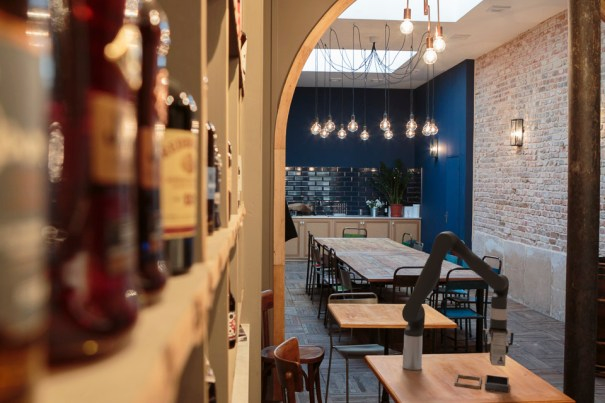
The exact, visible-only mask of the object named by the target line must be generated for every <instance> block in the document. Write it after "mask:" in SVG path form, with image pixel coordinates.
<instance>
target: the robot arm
mask: <svg viewBox="0 0 605 403" xmlns="http://www.w3.org/2000/svg"><path fill="white" fill-rule="evenodd" d="M449 251H451V252H452V253H454V254H456V255H457V256H458V257H460V259H461V260H462V261H463V262H464V263H465V265H466V266H467V267H468V268H469V269H470V270H471V271H473V272H474V273H475V274H476V275H477V276H479V277H480V278H481V279H482V280H483V282H485V283H486V284H487V285H488V286H489V287H490V288H491V289H493V293H492V296H491V299H490V314H489V328H483V329H482V341H483V343H486V351H488V353H490V342H491V337H490V336H489V338H488V339H487V334H488V333H489V335H490V334H491V329H496V330H505V331H506V336H507V335H508V336H509V338H510V339H509V342H508V340H507V338H506V355H507V354H508V353H509V348H510V346H513V345H514V333H515V332H514V331H508V329H507V328H508V294H509V288H510V287H509V286H510V282H509V278H508V277H507V275H505V274H501V273H500V274H498V273H497V272H495V271H494V270H493V268H492V266H491V265H490V264H489V263H487V262H486V261H484V259H482V258H481V257H479V256H478V255H477V254H476V253H475V252H473V251H472V250H471V249H470V248H469V247H468V246H467V245H466V244H465V243H463V241H462V240H461V239H460V238H459V237H458V236H457V235H456V234H455V233H454V232H452V231H447V230H446V231H442V232H440V233H438V234H437V235H436V236H435V238H434V241H433V244H432V247H431V250H430V253H429V255H428V257H427V259H426V262H425V263H424V264H423V268H422V269H421V271H420V274H419V276H418V278H417V280H416V283H415V285H414V288H413V290H412V292H411V295H410V296H409V298H408V300H407V301H406V303H405V304H404V305H403V309H402V311H401V316H402V319H403V320H404V322H406V323H407V325H406V327H405V328H404V331H403V332H404V334H403V349H402V369H405V370H408V371H420V370H422V368H423V367H422V366H423V363H422V362H423V333H424V330H425V322H426V320H425V318H426V312H425V308H424V306H423V303H424V301H425V300H426V299H427V298H428V297H429V295H431V293H432V292H433V290H434V289H435V287H436V286H437V284H438V281H439V279H440V277H441V273H442V266H443V262H444V259H445V258H446V256H447V255H448V253H449Z"/></svg>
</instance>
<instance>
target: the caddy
mask: <svg viewBox="0 0 605 403" xmlns="http://www.w3.org/2000/svg"><path fill="white" fill-rule="evenodd" d="M509 380H510V379H509V377H506V376H499V375H493V374H491V375H490V374H486V375H485V382H484V390H485V391H492V392H496V393H497V392H498V393H507V394H509V385H510V384H509Z"/></svg>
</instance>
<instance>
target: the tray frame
mask: <svg viewBox="0 0 605 403" xmlns="http://www.w3.org/2000/svg"><path fill="white" fill-rule="evenodd" d="M459 378H462V379H470V380H477V381H478V385H476V384H468V383H463V382H458V381H459ZM482 379H483V378H482V376H475V375H468V374H467V375H466V374H459V373H457V374H456V377H455V380H454V386H456V387H463V386H464V388H470V387H471V389H479V390H480V389H481V386H482Z"/></svg>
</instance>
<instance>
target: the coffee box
mask: <svg viewBox="0 0 605 403" xmlns="http://www.w3.org/2000/svg"><path fill="white" fill-rule="evenodd" d="M490 337H491V342H490V352H489V362H490V364H491V366H494V367H495V366H497V367H506V355H507V354H506V339H507V335H506V331H505V330H496V329H491V334H490V333H489V338H490Z"/></svg>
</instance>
